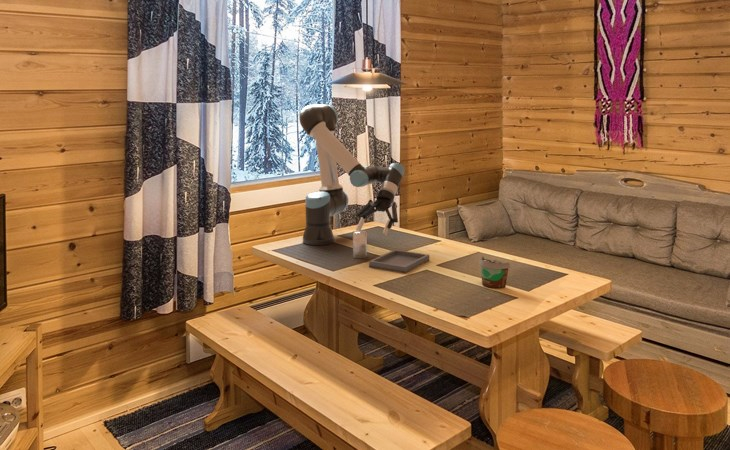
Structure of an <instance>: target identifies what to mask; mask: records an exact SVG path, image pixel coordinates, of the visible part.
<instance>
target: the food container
mask: <svg viewBox="0 0 730 450" xmlns="http://www.w3.org/2000/svg"><path fill="white" fill-rule="evenodd" d="M478 264H479V266H480V268H481V270H480V271H481V285H482V286H483V287H485V288H488V289H498V290H499V289H504V288H506V286H507V280H508V272H509V269H510V268H511V266H510V262H509V261H507V262H501V261H498V260H494V259H493V260H492V259H487V258H485V256H482V257H480V259H479V263H478Z"/></svg>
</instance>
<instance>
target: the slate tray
mask: <svg viewBox="0 0 730 450" xmlns="http://www.w3.org/2000/svg"><path fill="white" fill-rule="evenodd" d="M429 261H430V254H427V253H421V252H413V251H407V250H402V249H393V250H390V251H388V252H386V253H384V254H382V255H380V256H377V257H376V258H373V259H370V260H369V261H368V267H369V268H372V269H380V270H383V271H384V270H385V271H389V272H396V273H402V274H407V273H408V272H410V271H413V270H414V269H416V268H418V267H419V266H422V265H424V264H425V263H427V262H429Z"/></svg>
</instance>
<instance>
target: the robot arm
mask: <svg viewBox="0 0 730 450" xmlns="http://www.w3.org/2000/svg"><path fill="white" fill-rule="evenodd" d="M338 115H339V114H338V112H337V110H336V109H335V108H334V107H333V106H332V105H330V104H326V103H321V104H309V105H306V106H305V107H303V108H302V109H301V111H300V113H299V117H298V119H299V124H300V126H301V128H302V129H303V131H304V132H305V133H306V134H307V136H308V137H310V138H313V139H315V143H316V152H317V161H318V165H319V166H318V168H319V175H320V182H321V186H320V187H319V189H318V190H319V191H314V192H310V193H308V194H306V196H305V202H304V204H305V229H304V231H303V235H302V243H303V244H306V245H311V246H324V245H325V246H326V245H330V244H333V243H334V242H335V236H334V233H333V229H332V227H331V217H334V216H336V215H340V214H342V213H344V212H345V210H346V209H347V208H348V206H349V196H348V195H347V193H346V192H345V191H344V188H343V185H341V184H340V180H339V172H338V165H339V166H340V168H341V169H343V171H345V172H346V174H347V175H348V176H349V181H350V184H351V185H352V186H353V187H356V188H362V187H365V186H368V185H372V184H375V183H378V184H381V185H380V189H379V190H378V193H377V194H376V195H377V196H376V199H375V201H374V200H372V199H369V200H368V202H367V203H366V204H365V205H364V206H363V208H361V209H360V210H359V212H357V213H356V216H357V217H358V220H357V222H356V223H357V227H356V229H355V231H359V230H361V231H362V228H363V227H364V224H365V221H366V220H365V219H367V218H368V217H370V216H371V215H372V214H374V213H377V212H383V213H384V212H385V213H386V214H387V217H388V219H387V221H386V223H385V226H384V228H383V230H382V234H383V236H385V237H387V236H388V232H389V231H390V230H391V229H392V227H393V224H394V223H398V222H399V217H398V211H397V208H398V204H397V202H396V201H394V200H395V196H396V194H397V192H398V190H399V186H400V184H401V182H402V180H403V178H404V174H405V168H404V166H403V165H402V164H400V163H396V162H393V163H390V165H389V166H388V167H383V166H376V165H364V166H363V165H362V164H361V163H360V162H359V161H358V160H357V159H356V157H355V156H354V155H353V154H352V153H351V152H350V151H349V150H348V148H346V147H345V146H344V145H343V143H342V142H341V141H340V140H339V139H338V137H336V135H334V134H335V132H336V125H337V123H338V121H339V116H338ZM337 164H338V165H337ZM390 208H391V209H392V214H391V212H390V210H389V209H390ZM392 215H393V216H392Z"/></svg>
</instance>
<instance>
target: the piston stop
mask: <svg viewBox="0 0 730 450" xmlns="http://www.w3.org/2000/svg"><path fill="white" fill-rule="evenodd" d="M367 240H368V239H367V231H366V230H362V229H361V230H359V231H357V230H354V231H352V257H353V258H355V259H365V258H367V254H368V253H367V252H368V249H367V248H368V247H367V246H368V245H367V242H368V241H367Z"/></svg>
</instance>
